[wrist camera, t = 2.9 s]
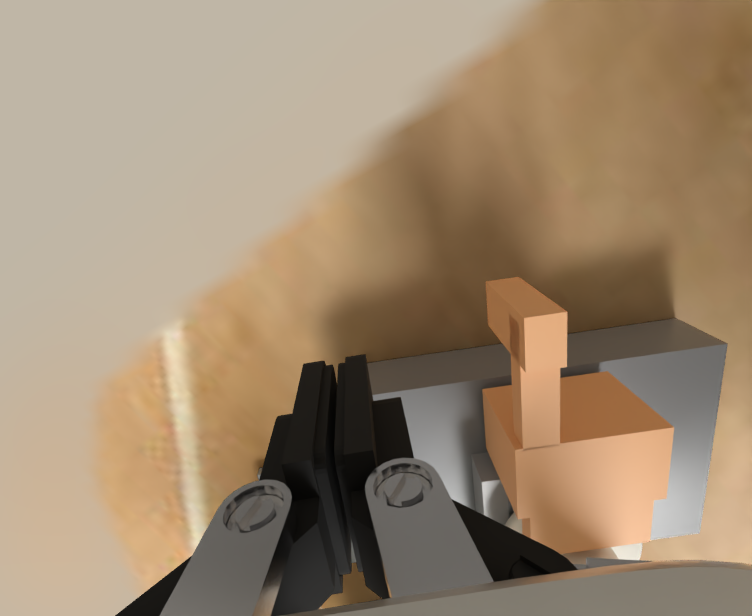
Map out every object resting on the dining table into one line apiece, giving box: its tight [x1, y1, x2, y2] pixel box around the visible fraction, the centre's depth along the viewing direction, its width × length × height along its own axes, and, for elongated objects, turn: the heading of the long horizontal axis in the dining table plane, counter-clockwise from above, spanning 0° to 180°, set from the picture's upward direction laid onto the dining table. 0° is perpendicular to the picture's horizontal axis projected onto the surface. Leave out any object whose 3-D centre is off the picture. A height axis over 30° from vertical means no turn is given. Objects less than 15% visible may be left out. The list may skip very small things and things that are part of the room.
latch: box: [482, 277, 674, 554], centre depth 18 cm, size 6×11×5 cm, turn 8°
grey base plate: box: [367, 318, 727, 540], centre depth 23 cm, size 18×12×6 cm, turn 98°
